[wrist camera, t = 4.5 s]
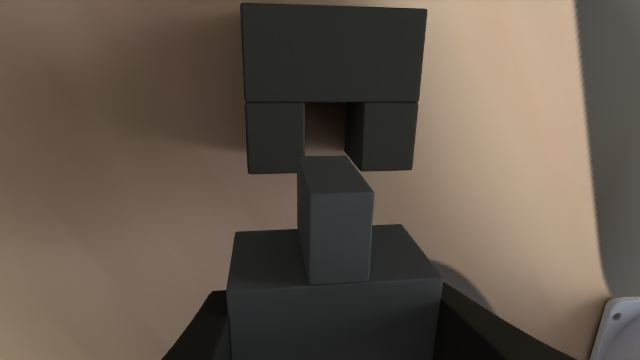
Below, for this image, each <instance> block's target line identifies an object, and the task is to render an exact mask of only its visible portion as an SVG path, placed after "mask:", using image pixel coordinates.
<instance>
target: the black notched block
mask: <svg viewBox="0 0 640 360" xmlns="http://www.w3.org/2000/svg"><path fill="white" fill-rule="evenodd" d="M240 10H241V33H242V55H243V77H244V100H245V102H246V103H245V121H246V144H247V166H248V173H249V174H279V173H297V158H298V157H304V156H305V104H304V102H346V121H345V149H344V150H345V152H346V154H347V155H348V156H349V157H350V159H351V160H352V161H353V162H354V164H355V165H356V166H357V167H358V169H359V170H360V171H398V170H412V166H413V155H414V145H415V134H416V123H417V113H418V103H417V102H418V101H419V94H420V83H421V73H422V62H423V52H424V41H425V30H426V20H427V9H416V8H385V7H355V6H324V5H293V4H262V3H241V5H240Z"/></svg>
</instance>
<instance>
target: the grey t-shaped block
mask: <svg viewBox="0 0 640 360" xmlns="http://www.w3.org/2000/svg"><path fill="white" fill-rule="evenodd" d="M373 207H374V191H373V190H372V189H371V187H370V186H369V185H368V183H367V182H366V181H365V180H364V178H363V177H362V176H361V174H360V173H359V172H358V171H357V169H356V168H355V167H354V165H353V164H352V163H351V161H350V160H349V159H348V158H347V156H304V157H298V158H297V227H298V229H288V230H266V231H245V232H236V233H235V238H234V244H233V251H232V257H231V263H230V270H229V276H228V283H227V289H226V300H227V314H228V323H229V337H230V351H231V360H433V354H434V346H435V338H436V331H437V323H438V316H439V308H440V301H441V293H442V285H443V276H442V275H441V274H440V273H439V272H438V270H437V269H436V268H435V267H434V265H433V264H432V263H431V261H430V260H429V259H428V257H427V256H426V255H425V254H424V252H423V251H422V250H421V249H420V247H419V246H418V245H417V243H416V242H415V241H414V240H413V238H412V237H411V236H410V235H409V233H408V232H407V231H406V229H405V228H404V227H403V226H402V225H401V224H395V225H374V226H372V223H373Z"/></svg>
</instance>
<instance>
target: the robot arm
mask: <svg viewBox="0 0 640 360" xmlns="http://www.w3.org/2000/svg"><path fill="white" fill-rule="evenodd" d="M161 360H231V351H230V337H229V323H228V314H227V300H226V290H222V291H212V292H211V293H210V294H209V295H208V297H207V299H206V300H205V302H204V303H203V305H202V306H201V308H200V310H199V311H198V312H197V314H196V315H195V317H194V318H193V320H192V321H191V323H190V324H189V325H188V327H187V328H186V329H185V331H184V332H183V333H182V335H181V336H180V337H179V339H178V340H177V341H176V343H175V344H174V345H173V346H172V348H171V349H170V350H169V351H168V352H167V354H166V355H165V356H164V357H163V358H162V359H161ZM433 360H577V359H575V358H573V357H571V356H569V355H567V354H565V353H563V352H561V351H559V350H557V349H554V348H552V347H550V346H549V345H547V344H545V343H543V342H541V341H539V340H537V339H535V338H534V337H532V336H530V335H528V334H527V333H525V332H523V331H521V330H520V329H518V328H516V327H514V326H513V325H511V324H509V323H508V322H506V321H504V320H503V319H501V318H499V317H498V316H496V315H495V314H493V313H491V312H490V311H488V310H487V309H485V308H484V307H482V306H480V305H479V304H477V303H476V302H474V301H473V300H471V299H469V298H468V297H466V296H465V295H463V294H462V293H460V292H459V291H457V290H456V289H454V288H453V287H451V286H450V285H448V284H446V283H445V282H443V285H442V293H441V301H440V308H439V316H438V323H437V331H436V338H435V346H434V354H433ZM590 360H640V296H632V297H619V298H613V299H611V300H609V301H608V302H607V304H606V306H605V309H604V313H603V316H602V319H601V323H600V326H599V330H598V333H597V337H596V340H595V343H594V347H593V350H592V354H591V357H590Z"/></svg>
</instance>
